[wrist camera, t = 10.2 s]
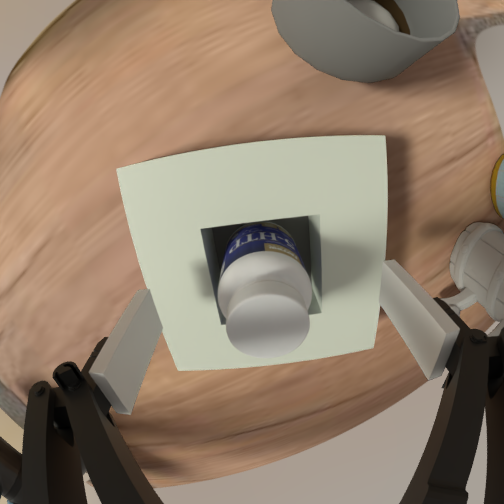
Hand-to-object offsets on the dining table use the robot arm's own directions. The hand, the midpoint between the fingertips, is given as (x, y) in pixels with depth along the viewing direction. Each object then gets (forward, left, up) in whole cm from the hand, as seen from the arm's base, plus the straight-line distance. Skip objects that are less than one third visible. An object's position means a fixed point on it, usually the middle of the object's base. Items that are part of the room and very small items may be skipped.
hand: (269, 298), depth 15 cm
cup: (+7, +16, -7) cm, 19 cm away
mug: (+20, -4, -7) cm, 21 cm away
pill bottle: (0, 0, -7) cm, 7 cm away
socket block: (0, 0, -7) cm, 7 cm away
